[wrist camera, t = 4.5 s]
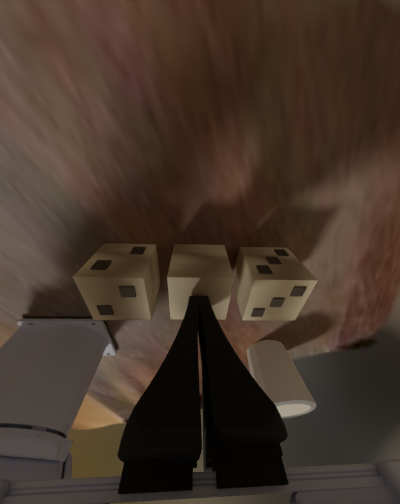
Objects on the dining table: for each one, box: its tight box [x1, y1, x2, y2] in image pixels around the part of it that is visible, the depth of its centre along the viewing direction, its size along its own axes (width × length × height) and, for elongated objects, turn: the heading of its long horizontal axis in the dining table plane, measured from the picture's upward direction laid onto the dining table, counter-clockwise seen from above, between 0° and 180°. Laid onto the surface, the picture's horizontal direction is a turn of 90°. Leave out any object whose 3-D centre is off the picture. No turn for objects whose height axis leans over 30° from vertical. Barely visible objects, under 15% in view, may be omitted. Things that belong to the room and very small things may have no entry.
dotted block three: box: [233, 247, 318, 320], centre depth 14 cm, size 4×5×5 cm
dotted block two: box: [73, 243, 161, 320], centre depth 14 cm, size 4×5×5 cm
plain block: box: [167, 244, 234, 319], centre depth 14 cm, size 4×4×4 cm
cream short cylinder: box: [247, 340, 316, 419], centre depth 22 cm, size 7×7×7 cm
